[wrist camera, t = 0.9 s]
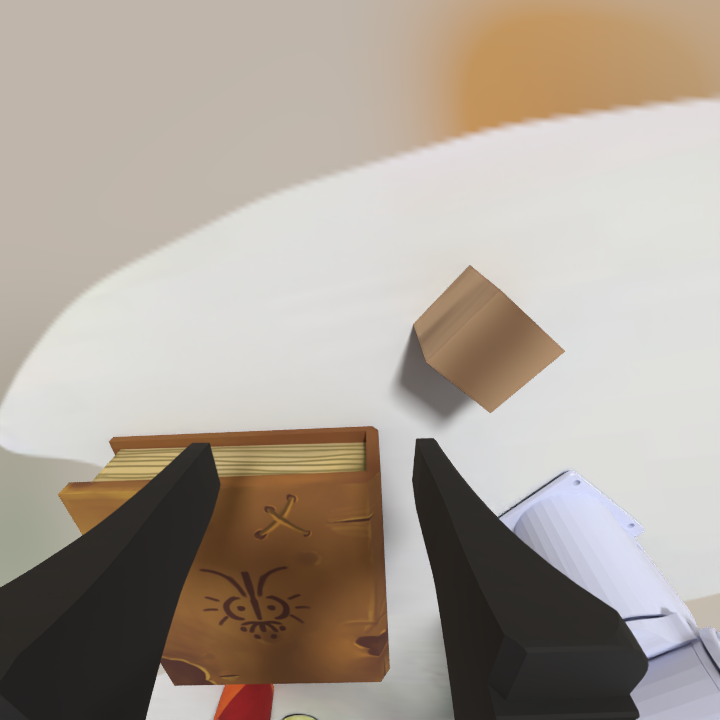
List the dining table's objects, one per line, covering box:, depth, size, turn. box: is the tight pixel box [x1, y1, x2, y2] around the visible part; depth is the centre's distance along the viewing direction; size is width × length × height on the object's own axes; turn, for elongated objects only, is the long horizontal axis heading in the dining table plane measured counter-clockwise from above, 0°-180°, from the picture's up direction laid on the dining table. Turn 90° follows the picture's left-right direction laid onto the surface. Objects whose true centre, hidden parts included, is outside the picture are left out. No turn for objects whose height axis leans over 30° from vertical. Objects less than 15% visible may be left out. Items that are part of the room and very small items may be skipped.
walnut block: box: [413, 265, 565, 413], centre depth 19 cm, size 4×4×5 cm
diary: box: [58, 426, 390, 686], centre depth 28 cm, size 23×19×6 cm
